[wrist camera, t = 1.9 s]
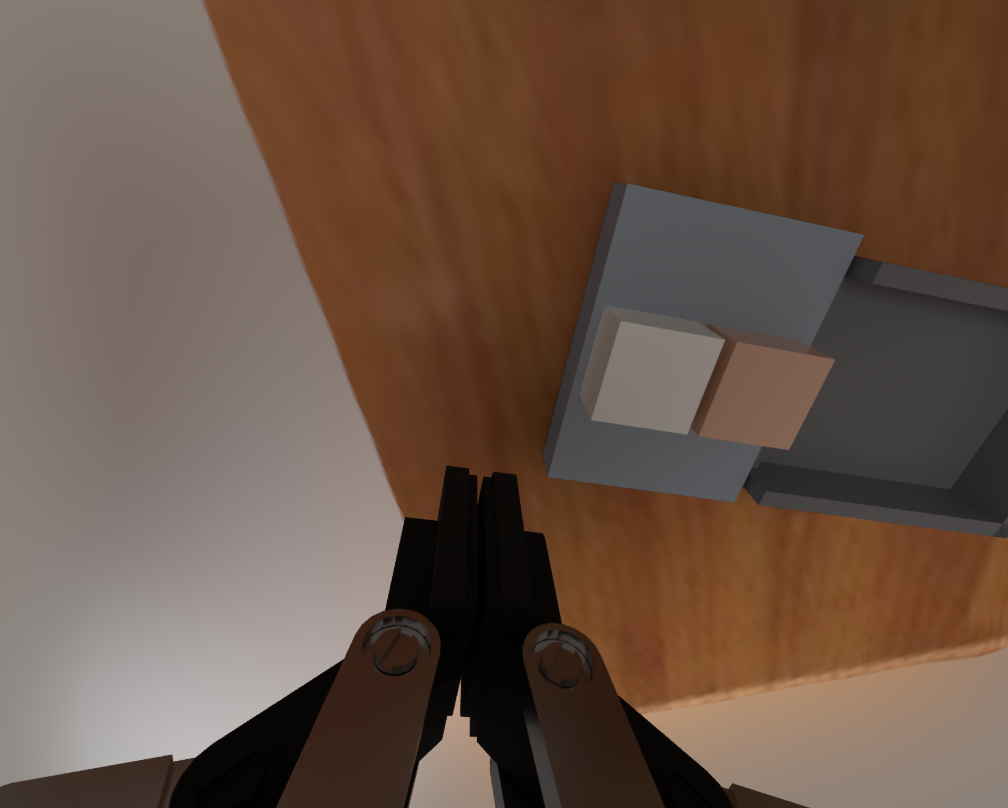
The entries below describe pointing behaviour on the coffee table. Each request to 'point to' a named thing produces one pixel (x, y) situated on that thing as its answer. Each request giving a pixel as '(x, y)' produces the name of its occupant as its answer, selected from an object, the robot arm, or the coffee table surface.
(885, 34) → the coffee table surface
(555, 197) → the coffee table surface
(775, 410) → the tile
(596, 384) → the tile
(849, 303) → the box
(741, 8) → the coffee table surface
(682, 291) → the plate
